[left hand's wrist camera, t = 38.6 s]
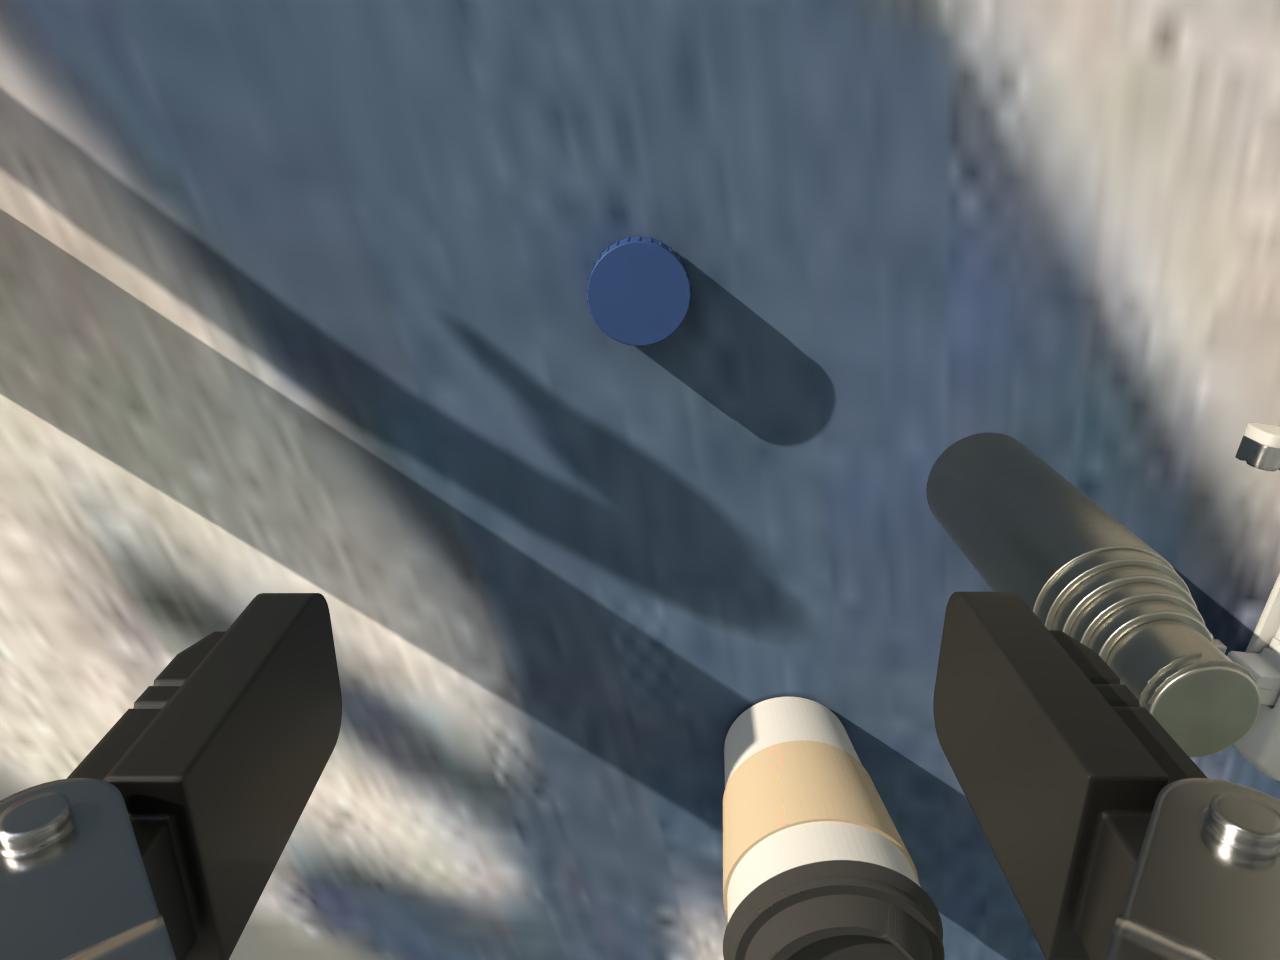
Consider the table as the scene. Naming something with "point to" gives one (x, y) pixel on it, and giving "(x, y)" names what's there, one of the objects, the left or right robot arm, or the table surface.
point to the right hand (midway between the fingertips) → (1208, 550)
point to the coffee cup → (814, 847)
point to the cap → (638, 291)
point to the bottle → (1092, 586)
